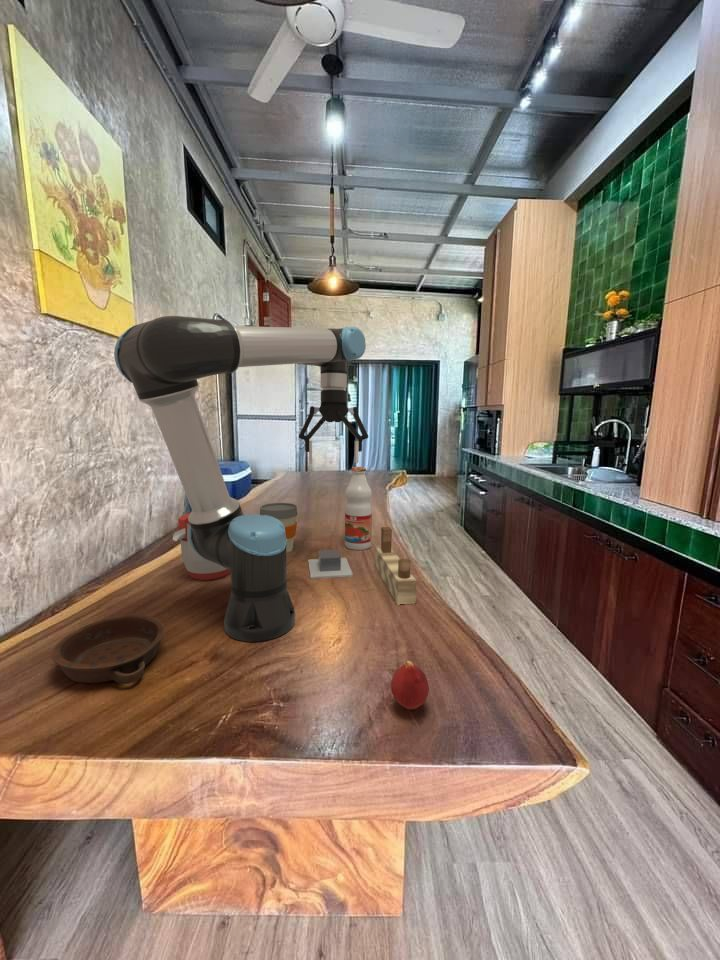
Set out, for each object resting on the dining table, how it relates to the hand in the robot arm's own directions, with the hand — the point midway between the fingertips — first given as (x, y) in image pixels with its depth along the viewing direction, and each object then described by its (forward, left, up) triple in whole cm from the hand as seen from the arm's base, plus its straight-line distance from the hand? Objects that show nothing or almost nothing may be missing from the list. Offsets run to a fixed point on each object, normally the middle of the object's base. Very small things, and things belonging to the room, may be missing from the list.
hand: (333, 463), depth 119 cm
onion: (-32, -55, -32) cm, 71 cm away
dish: (-62, -9, -32) cm, 70 cm away
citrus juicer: (-31, +19, -32) cm, 48 cm away
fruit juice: (+18, +7, -32) cm, 37 cm away
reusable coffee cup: (-4, +23, -32) cm, 40 cm away
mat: (-3, -2, -31) cm, 32 cm away
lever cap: (-3, -2, -31) cm, 31 cm away
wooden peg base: (+3, -22, -31) cm, 38 cm away
